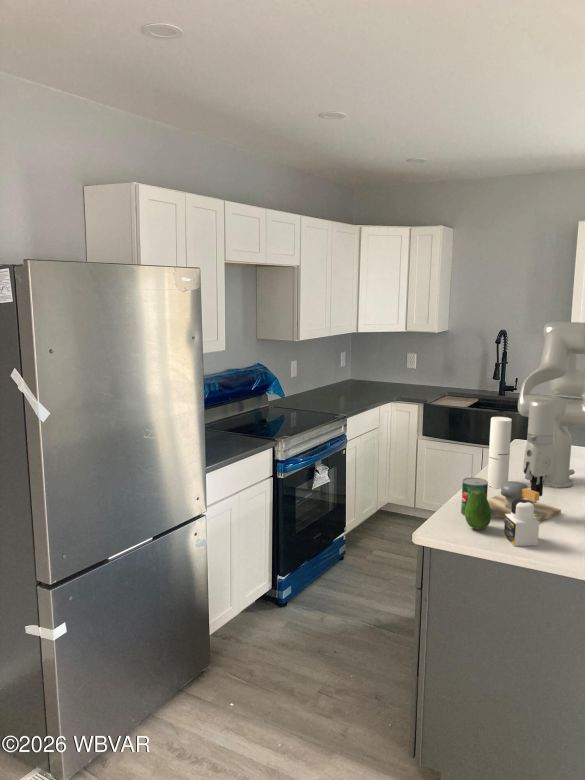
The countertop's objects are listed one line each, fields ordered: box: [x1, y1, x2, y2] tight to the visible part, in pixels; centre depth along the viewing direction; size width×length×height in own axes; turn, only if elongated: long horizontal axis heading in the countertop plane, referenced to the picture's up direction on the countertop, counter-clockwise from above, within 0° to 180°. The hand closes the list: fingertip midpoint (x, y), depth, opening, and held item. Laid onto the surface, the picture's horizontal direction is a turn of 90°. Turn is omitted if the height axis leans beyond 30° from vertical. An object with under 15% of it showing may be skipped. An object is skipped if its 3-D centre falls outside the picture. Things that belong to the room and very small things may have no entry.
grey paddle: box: [500, 480, 540, 502], centre depth 201 cm, size 13×8×3 cm, turn 29°
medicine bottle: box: [503, 499, 540, 547], centre depth 180 cm, size 7×7×12 cm
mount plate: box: [487, 494, 562, 523], centre depth 205 cm, size 18×20×6 cm
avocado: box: [464, 490, 493, 530], centre depth 189 cm, size 8×8×12 cm
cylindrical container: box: [487, 416, 513, 489], centre depth 229 cm, size 7×7×25 cm
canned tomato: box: [460, 477, 489, 517], centre depth 202 cm, size 8×8×11 cm
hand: (536, 495), depth 199 cm, fingers closed
